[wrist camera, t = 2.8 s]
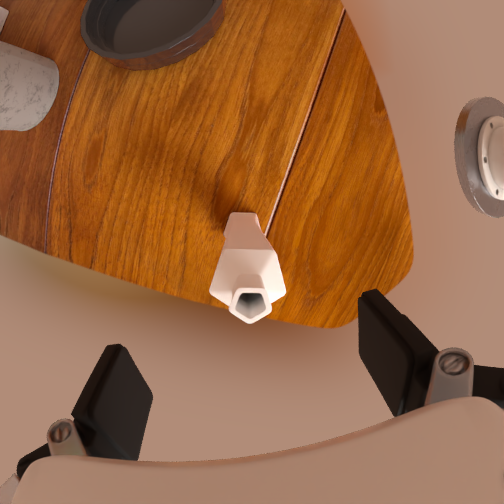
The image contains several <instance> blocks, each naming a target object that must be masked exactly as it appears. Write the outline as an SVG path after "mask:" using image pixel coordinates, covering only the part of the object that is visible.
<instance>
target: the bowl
mask: <svg viewBox="0 0 504 504" xmlns="http://www.w3.org/2000/svg"><path fill="white" fill-rule="evenodd" d="M225 9H226V0H88V1H87V3H86V5H85V7H84V10H83V13H82V16H81V36H82V38H83V39H84V41H85V43H86V45H87V47H88V48H89V49H91V50H92V51H94V52H95V53H97V54H98V55H100V56H101V57H103V58H104V59H106V60H107V61H109V62H110V63H112V64H113V65H115V66H116V67H120V68H124V69H129V70H133V71H138V70H152V69H158V68H161V67H164V66H167V65H170V64H173V63H177V62H179V61H180V60H182V59H184V58H185V57H187V56H189V55H191V54H192V53H194V52H196V51H197V50H199V49H200V48H201V47H202V46H203V45H204V44H205V43H207V42H208V41H209V40H210V39H211V38H212V37H213V36H214V35H215V33H216V31H217V30H218V28H219V26H220V25H221V23H222V21H223V19H224V15H225Z"/></svg>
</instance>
